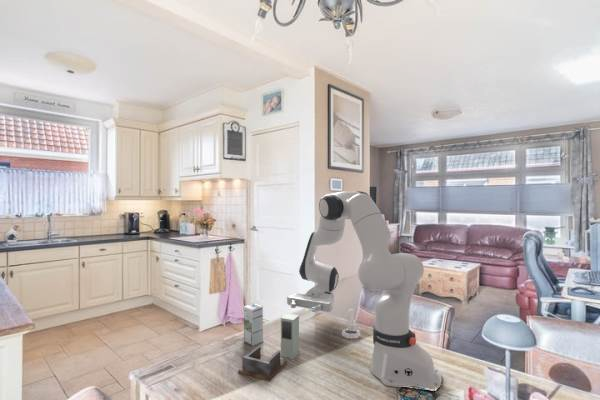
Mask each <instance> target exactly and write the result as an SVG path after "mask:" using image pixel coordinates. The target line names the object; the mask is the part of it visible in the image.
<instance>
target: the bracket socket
mask: <svg viewBox="0 0 600 400" xmlns="http://www.w3.org/2000/svg"><path fill="white" fill-rule="evenodd" d="M261 351H262V349H261V346H259V345H258V346H257V347H255V348H253V350H251V351H250V352H249V353H248V354H246V355H243V356H242V366H241V367H240V368H238V370H237V372H238V374H241V375H244V376H248V377H251V378H255V379H258V380H263V381H265V382H271V381H272V380H273V379H274V378H275V377H276V376H277V375H278V374H279V373H280V372H281V371H282V369H284V367H285V366H286V365H288V361H287V360H285V359H281V350H277V351H276V352H274V353H273V354H272V355H271V356H269V355H265V354H262V352H261Z"/></svg>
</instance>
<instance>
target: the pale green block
mask: <svg viewBox="0 0 600 400" xmlns="http://www.w3.org/2000/svg"><path fill="white" fill-rule="evenodd" d="M298 354H300V315H299V314H292V313H286V314H284V315H283V316H281V318H280V357H285V358H287V359H288V358H289V359H292V360H293V359H295V358H296V357H297V355H298Z"/></svg>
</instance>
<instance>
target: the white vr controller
mask: <svg viewBox="0 0 600 400" xmlns="http://www.w3.org/2000/svg"><path fill="white" fill-rule="evenodd" d="M358 328H359V326H358V324H357V323H355V311H354V309H351V308H349V309H348V325H347V328H344V329H343V330H342V333H341V335H342V337H344V338H346V339H349V338H351V339H352V338H356V339H359V338H360V337H361V333H360V331H359V330H358ZM348 332H353V333H348ZM359 336H360V337H359ZM358 337H359V338H358ZM351 339H350V340H351Z"/></svg>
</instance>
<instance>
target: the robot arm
mask: <svg viewBox="0 0 600 400" xmlns="http://www.w3.org/2000/svg"><path fill="white" fill-rule="evenodd" d="M318 210H319V214H320V216H319V222H318V223H319V224H318V227H317V229H316V230H313V231H312V232H311V234H310V236H309V239H308V241H307V244H306V249H305V252H304V254H303V259H302V261H301V264H300V267H299V270H298V273H299V275H300V277H301V279H302V280H304V281H308V282H312V283H315V284H316V285H315V286H312V288H311V287H310V289H309V290H307V291H306V293H299V292H293V293H291V294H289V295H287V297H286V304H287V306H290V308H291V309H295V308H296V307H299V308H304V309H310V310H311V312H314V313H317V312H326V313H330V312H332V311H333V310H334V308H335V307H334V306H335V295H334V292H335V289H336V288H337V285H338V283H339V272H338V270H337V268H336V267H335V266H332V265H330V264H326V263H323V262H320V261H317V260H316V259H315V258H314V257H315V255H316V251H317V247H319V246H331V245H333V244H336V243H338V242H339V241H340V240H341V239H342V237H343V235H344V231H345V225H346V224H345V223H346V220H350V221H351V223H352V227H353V229H354V231H355V233H356V236H357V237H358V241H359V243H360V245H361V246H360V247H361V249H362V260H361V262H360V264H359V267H358V270H357V274H358V280H359V282H360V283H361V285H362V286H363V287H364V288H365V289H366V290H368V291H374V292H375V291H376V292H382V293H381V295H380V296H379V297H378V299H377V300H376V302H375V304H374V326H373V328H372V341H373V349H372V358H371V362H370V364H369V370H370V372H371V374H372V375H373V376H374V377H376V378H377V379H379V380H380V381H381V382H382V384H383V385H385V386H388V387H394V388H401V386H408V385H410V386H417V387H424V388H429V389H434V388H435V387H437V388H438V387H439V386H440V385H441V386H442V384H441V382H442V383H443V381H442V380H443V379H442V377H443V376H442V373H441V371H440V370H439V369H438V368H437V367H436V366H434V362H433V358H432V356H431V355H430V353H429V352H428V351H426V350H425V349H424V348H423V347H421V346H420V345H419V344H418V343H417V339H416V332H415V330H413V331H412V330H410V308H411V302H412V299H413V295H414V292H415V290H416V287H417V285H418V282H419V281H420V280H421V278H422V277H423V275H424V271H425V268H424V264H423V261H422V260H421V259H420V257H418V256H417V254H412V253H409V252H408V253H407V252H400V253H391V252H390V248H389V241H390V240H391V237H392V232H391V230H390V227H389V226H388V224H387V222H386V221H385V218H384V216H383V214H382V212H381V210H380V209H379V207H378V206H377V204H376V202H375V201H374V200H373V199H372V197H371V196H370V195H369V193H367V192H365V191H362V190H361V191H360V190H357V191H340V192H334V193H328V194H325V195H323V196H322V197H321V198H320V199H319V203H318Z"/></svg>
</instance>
